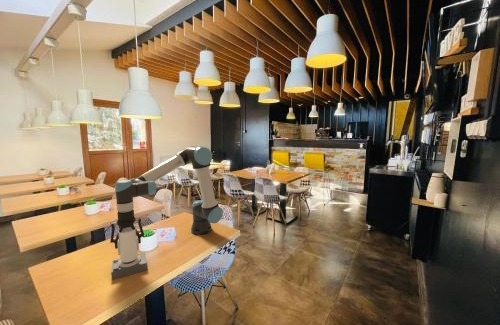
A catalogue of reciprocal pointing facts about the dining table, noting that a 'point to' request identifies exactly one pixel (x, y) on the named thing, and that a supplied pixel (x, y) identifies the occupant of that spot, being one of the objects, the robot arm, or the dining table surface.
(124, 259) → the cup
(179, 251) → the dining table surface
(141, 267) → the camera body
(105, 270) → the dining table surface
